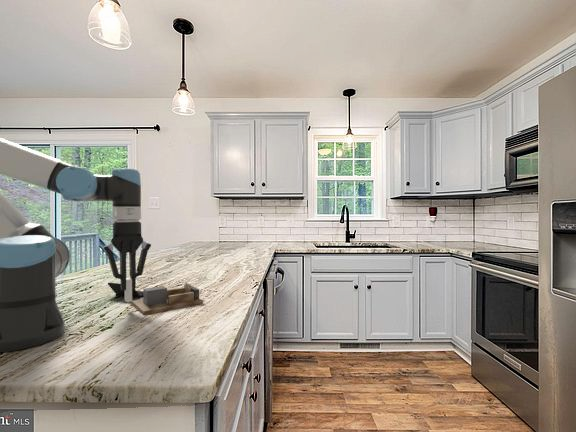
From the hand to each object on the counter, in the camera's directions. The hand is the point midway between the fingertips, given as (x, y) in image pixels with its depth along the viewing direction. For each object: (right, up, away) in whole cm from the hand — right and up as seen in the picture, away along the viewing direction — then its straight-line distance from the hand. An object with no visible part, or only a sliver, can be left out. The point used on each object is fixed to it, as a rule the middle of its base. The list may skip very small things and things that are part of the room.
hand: (128, 300), depth 93 cm
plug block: (+6, -2, +5) cm, 8 cm away
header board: (+9, -3, +7) cm, 12 cm away
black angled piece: (-8, -4, +17) cm, 19 cm away
